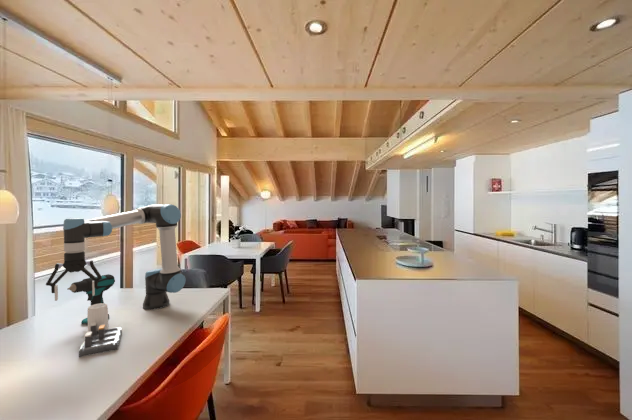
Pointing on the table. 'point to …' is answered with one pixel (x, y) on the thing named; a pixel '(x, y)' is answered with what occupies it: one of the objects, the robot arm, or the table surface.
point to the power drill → (101, 287)
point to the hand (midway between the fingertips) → (75, 297)
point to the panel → (102, 342)
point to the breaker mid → (101, 331)
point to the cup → (98, 315)
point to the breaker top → (88, 339)
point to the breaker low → (94, 328)
